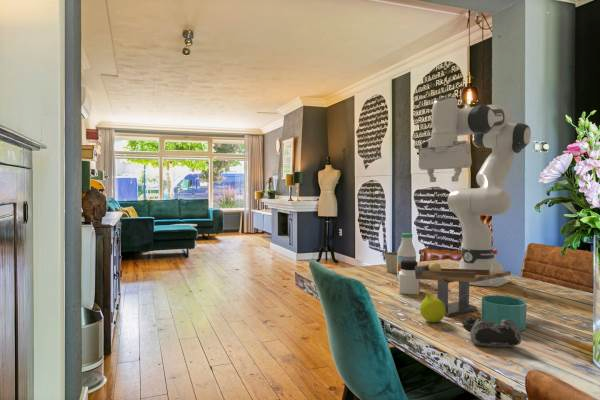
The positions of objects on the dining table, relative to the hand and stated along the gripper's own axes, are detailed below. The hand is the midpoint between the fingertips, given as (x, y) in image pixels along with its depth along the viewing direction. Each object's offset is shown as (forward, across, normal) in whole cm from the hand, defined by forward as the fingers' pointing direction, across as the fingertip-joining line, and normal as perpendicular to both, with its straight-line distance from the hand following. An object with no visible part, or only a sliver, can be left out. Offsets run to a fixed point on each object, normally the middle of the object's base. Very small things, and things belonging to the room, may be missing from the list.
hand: (443, 181), depth 145 cm
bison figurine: (+42, -35, +26) cm, 60 cm away
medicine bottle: (+41, +11, +5) cm, 43 cm away
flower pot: (+41, +42, -18) cm, 61 cm away
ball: (+29, -5, +11) cm, 31 cm away
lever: (+32, -12, +5) cm, 35 cm away
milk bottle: (+41, +26, -9) cm, 49 cm away
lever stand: (+41, -13, +10) cm, 44 cm away
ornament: (+42, -17, +25) cm, 51 cm away
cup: (+41, -29, +10) cm, 52 cm away
